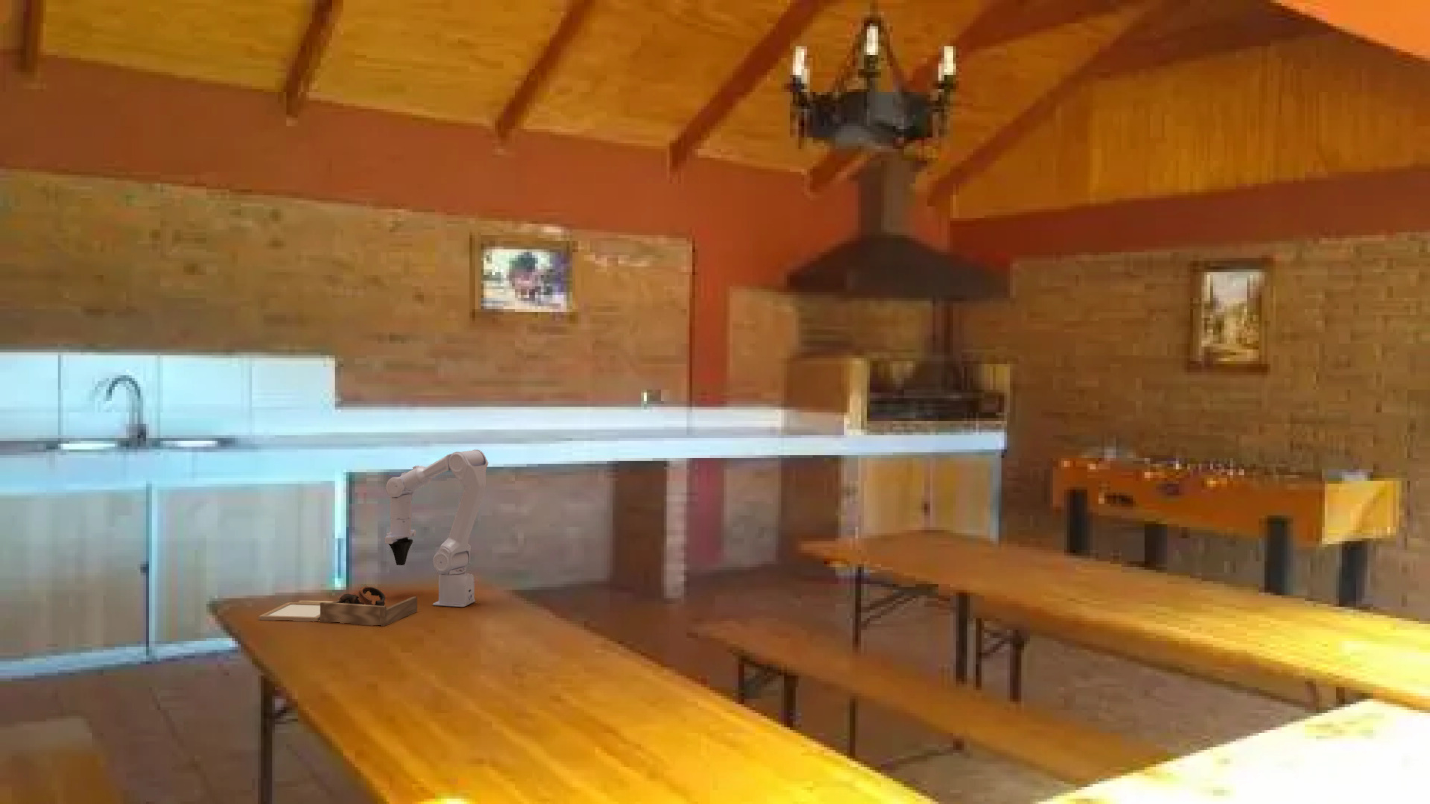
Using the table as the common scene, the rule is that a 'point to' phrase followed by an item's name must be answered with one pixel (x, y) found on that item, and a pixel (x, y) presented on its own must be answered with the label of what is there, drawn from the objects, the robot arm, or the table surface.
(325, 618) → the wooden tray
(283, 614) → the lid
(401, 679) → the table surface
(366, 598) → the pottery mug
